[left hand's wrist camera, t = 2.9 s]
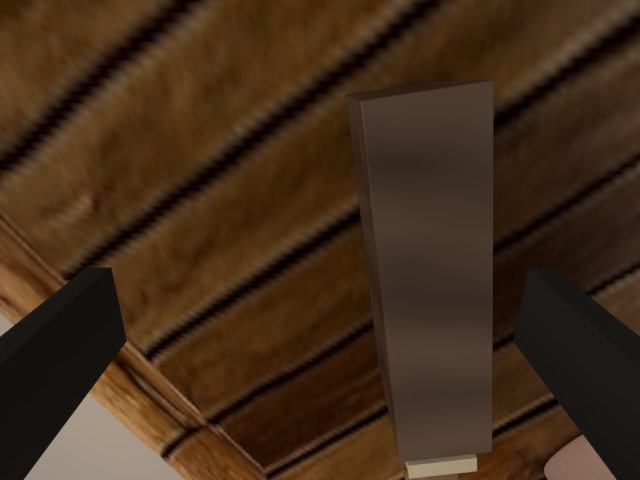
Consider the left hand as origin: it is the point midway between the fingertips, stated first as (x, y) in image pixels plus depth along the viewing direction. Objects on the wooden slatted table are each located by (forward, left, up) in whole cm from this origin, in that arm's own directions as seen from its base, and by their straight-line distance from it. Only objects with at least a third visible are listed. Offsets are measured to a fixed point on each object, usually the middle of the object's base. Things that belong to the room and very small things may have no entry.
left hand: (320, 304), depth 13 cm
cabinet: (-2, +7, -17) cm, 18 cm away
